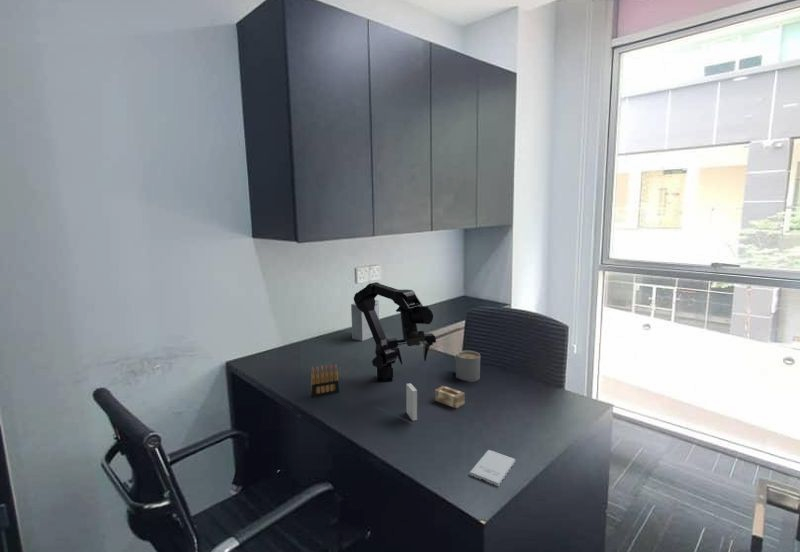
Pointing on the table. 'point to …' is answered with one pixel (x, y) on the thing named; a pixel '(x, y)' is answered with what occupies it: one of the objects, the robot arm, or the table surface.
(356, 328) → the hard drive box
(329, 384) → the ammunition clip
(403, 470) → the table surface
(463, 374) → the coffee mug
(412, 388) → the cover plate
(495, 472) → the external hard drive
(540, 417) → the table surface
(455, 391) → the oak box
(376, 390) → the table surface
